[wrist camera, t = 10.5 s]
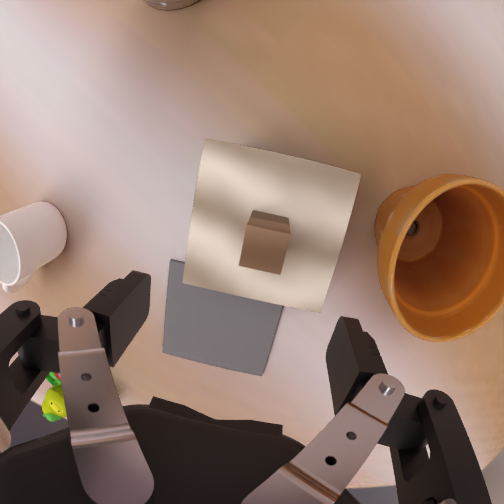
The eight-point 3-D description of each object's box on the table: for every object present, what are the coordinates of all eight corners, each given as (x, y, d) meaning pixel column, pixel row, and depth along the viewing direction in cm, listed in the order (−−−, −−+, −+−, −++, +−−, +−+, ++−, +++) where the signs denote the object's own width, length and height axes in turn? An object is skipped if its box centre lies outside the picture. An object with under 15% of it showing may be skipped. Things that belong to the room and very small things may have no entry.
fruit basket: (118, 386, 45) (90, 433, 34) (95, 400, 47) (68, 442, 37) (70, 337, 43) (32, 378, 32) (51, 356, 45) (17, 394, 34)
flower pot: (469, 249, 32) (529, 293, 20) (378, 301, 36) (413, 368, 24) (435, 144, 29) (505, 151, 17) (330, 198, 32) (360, 231, 20)
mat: (171, 259, 36) (170, 260, 36) (288, 285, 36) (288, 287, 36) (163, 350, 41) (162, 352, 40) (261, 373, 41) (261, 376, 40)
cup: (74, 216, 36) (23, 239, 26) (59, 287, 39) (17, 320, 30) (34, 190, 35) (-17, 207, 25) (22, 260, 39) (-21, 286, 29)
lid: (206, 139, 25) (187, 137, 19) (358, 173, 24) (380, 181, 19) (184, 279, 29) (164, 309, 24) (319, 308, 29) (326, 344, 23)
